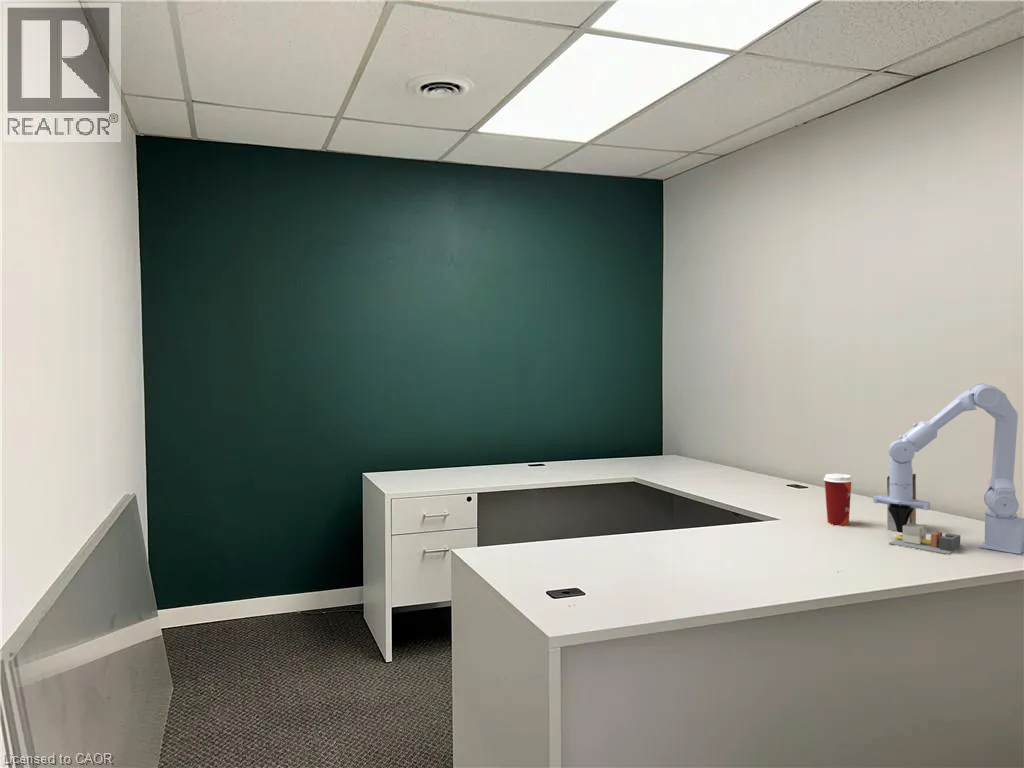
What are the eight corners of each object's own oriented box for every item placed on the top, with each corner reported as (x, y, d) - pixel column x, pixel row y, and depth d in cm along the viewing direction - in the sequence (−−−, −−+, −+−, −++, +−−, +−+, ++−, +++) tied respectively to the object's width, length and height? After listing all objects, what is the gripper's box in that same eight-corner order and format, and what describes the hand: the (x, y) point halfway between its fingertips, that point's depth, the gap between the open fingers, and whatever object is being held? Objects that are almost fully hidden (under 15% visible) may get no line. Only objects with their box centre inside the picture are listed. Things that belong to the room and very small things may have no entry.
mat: (963, 546, 201) (963, 545, 201) (948, 554, 194) (948, 553, 194) (905, 537, 212) (905, 535, 212) (888, 544, 205) (888, 542, 205)
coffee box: (892, 523, 228) (892, 471, 227) (916, 526, 224) (916, 473, 223) (886, 530, 220) (886, 476, 220) (910, 533, 216) (911, 478, 216)
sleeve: (925, 541, 205) (926, 525, 205) (919, 544, 202) (919, 528, 202) (909, 538, 208) (909, 523, 208) (902, 541, 205) (902, 525, 205)
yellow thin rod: (944, 546, 200) (944, 541, 200) (942, 547, 199) (942, 542, 199) (895, 538, 210) (895, 533, 209) (893, 539, 209) (893, 534, 209)
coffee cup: (857, 526, 226) (857, 477, 225) (830, 527, 226) (829, 478, 225) (845, 520, 234) (845, 472, 233) (819, 520, 234) (819, 473, 233)
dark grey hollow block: (960, 547, 199) (960, 535, 199) (951, 551, 195) (951, 539, 195) (944, 544, 202) (944, 532, 202) (935, 548, 198) (935, 536, 198)
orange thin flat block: (942, 545, 201) (942, 531, 201) (936, 547, 199) (936, 534, 199) (936, 544, 203) (936, 531, 202) (930, 546, 200) (930, 533, 200)
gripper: (868, 482, 210) (868, 529, 211) (922, 488, 199) (922, 538, 200) (879, 479, 215) (879, 525, 215) (933, 485, 203) (933, 534, 204)
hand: (901, 531), depth 208 cm, fingers closed
